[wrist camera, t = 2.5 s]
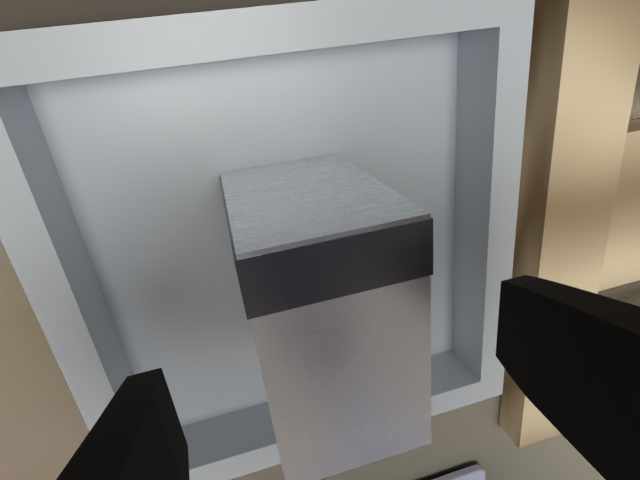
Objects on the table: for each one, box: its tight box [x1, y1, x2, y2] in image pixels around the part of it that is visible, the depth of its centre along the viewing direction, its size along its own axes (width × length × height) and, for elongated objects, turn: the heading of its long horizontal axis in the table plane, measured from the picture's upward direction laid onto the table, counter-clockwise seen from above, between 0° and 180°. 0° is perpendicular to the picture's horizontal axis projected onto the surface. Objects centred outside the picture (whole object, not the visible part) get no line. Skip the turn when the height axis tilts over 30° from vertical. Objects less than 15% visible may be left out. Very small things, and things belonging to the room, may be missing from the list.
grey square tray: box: [0, 0, 535, 480], centre depth 13 cm, size 14×14×2 cm
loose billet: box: [219, 154, 433, 480], centre depth 11 cm, size 4×6×6 cm, turn 7°
